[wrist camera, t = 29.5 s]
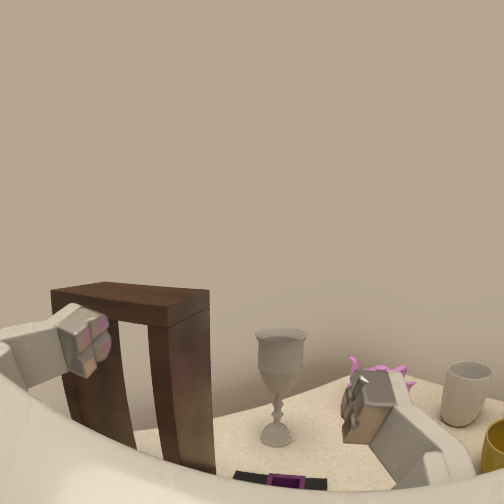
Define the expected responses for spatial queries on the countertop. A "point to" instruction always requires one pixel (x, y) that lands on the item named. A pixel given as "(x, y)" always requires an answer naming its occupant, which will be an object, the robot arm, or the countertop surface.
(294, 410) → the countertop surface
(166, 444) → the walnut stand
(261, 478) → the charcoal mat
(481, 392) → the mug
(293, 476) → the plum dish
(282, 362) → the chalice
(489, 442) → the mustard yellow bowl
